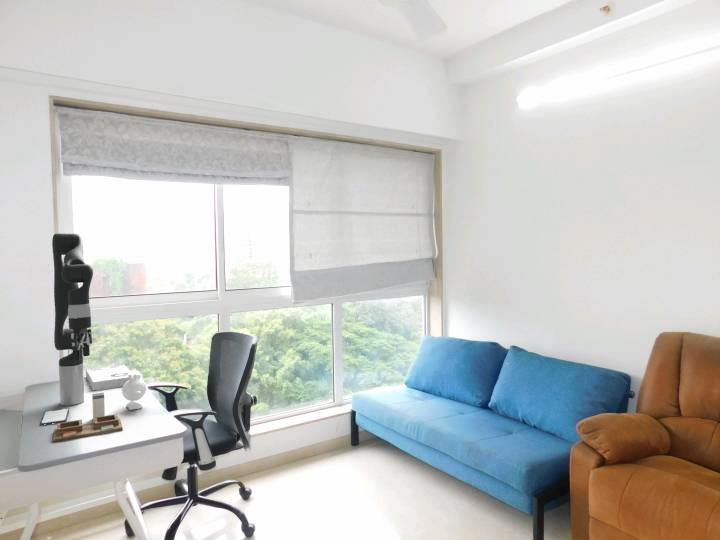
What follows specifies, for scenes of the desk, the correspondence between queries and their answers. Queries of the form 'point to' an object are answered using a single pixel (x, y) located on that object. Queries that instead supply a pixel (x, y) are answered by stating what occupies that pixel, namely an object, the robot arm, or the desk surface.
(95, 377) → the power supply unit
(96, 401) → the grey-capped white pillar
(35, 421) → the desk surface
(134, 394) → the toy robot
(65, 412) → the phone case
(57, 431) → the panel
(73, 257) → the robot arm
